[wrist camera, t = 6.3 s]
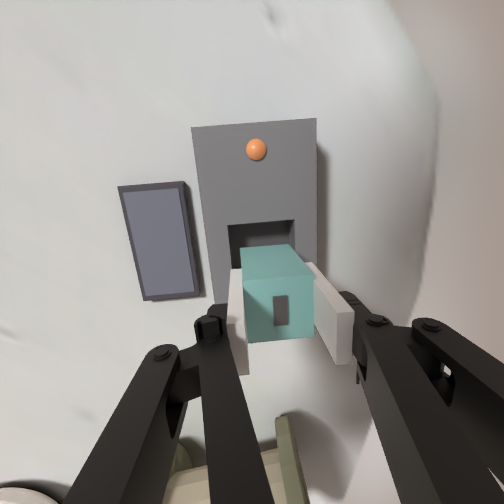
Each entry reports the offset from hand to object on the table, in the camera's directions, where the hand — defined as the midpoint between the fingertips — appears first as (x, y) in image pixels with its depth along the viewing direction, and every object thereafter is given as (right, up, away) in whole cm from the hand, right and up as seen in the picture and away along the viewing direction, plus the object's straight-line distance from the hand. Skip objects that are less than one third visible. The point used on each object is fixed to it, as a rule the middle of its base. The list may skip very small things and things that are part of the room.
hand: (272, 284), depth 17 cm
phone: (-11, +3, +9) cm, 15 cm away
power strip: (-1, +6, +9) cm, 11 cm away
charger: (0, +1, +4) cm, 4 cm away
